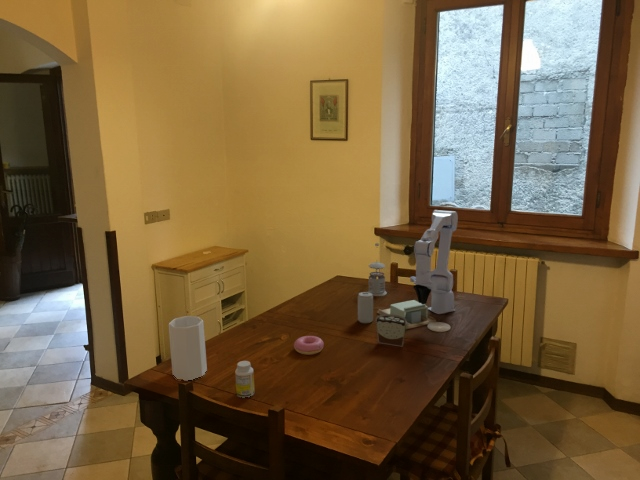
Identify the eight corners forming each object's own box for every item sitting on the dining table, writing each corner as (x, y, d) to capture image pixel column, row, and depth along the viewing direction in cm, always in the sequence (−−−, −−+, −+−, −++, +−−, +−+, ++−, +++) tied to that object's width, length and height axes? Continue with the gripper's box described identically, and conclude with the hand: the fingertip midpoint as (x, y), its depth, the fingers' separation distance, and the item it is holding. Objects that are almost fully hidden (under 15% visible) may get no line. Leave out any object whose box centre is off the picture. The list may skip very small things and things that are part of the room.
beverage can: (373, 318, 220) (373, 291, 217) (373, 324, 214) (373, 296, 211) (357, 318, 221) (357, 291, 218) (357, 323, 214) (357, 296, 212)
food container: (410, 341, 196) (411, 316, 194) (406, 347, 191) (407, 321, 189) (379, 336, 202) (380, 311, 199) (374, 342, 196) (374, 317, 194)
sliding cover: (413, 310, 225) (413, 297, 224) (427, 317, 217) (427, 304, 215) (390, 315, 220) (390, 302, 218) (403, 322, 211) (403, 309, 210)
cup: (189, 384, 166) (185, 330, 162) (165, 376, 172) (160, 323, 168) (214, 370, 175) (210, 319, 171) (190, 363, 181) (186, 313, 177)
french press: (365, 295, 250) (365, 245, 244) (367, 288, 261) (367, 239, 255) (386, 296, 248) (387, 245, 243) (387, 289, 259) (387, 240, 254)
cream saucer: (440, 322, 215) (440, 320, 215) (455, 329, 207) (455, 327, 207) (422, 326, 211) (422, 324, 211) (437, 333, 203) (437, 332, 203)
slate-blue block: (414, 319, 219) (414, 307, 218) (420, 322, 215) (420, 311, 214) (405, 320, 217) (405, 309, 216) (411, 324, 213) (412, 312, 212)
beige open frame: (405, 307, 233) (405, 303, 232) (435, 322, 214) (435, 318, 214) (377, 313, 226) (377, 309, 226) (406, 329, 208) (406, 325, 207)
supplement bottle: (246, 387, 164) (244, 357, 161) (258, 393, 160) (256, 362, 158) (232, 395, 159) (230, 364, 157) (244, 400, 156) (243, 369, 154)
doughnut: (289, 354, 188) (289, 343, 187) (300, 342, 198) (300, 332, 197) (317, 358, 184) (317, 347, 183) (328, 346, 194) (327, 335, 193)
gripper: (404, 267, 210) (403, 299, 213) (426, 276, 197) (425, 310, 200) (418, 265, 213) (417, 296, 216) (441, 273, 201) (440, 307, 203)
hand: (422, 303), depth 209 cm, fingers closed
